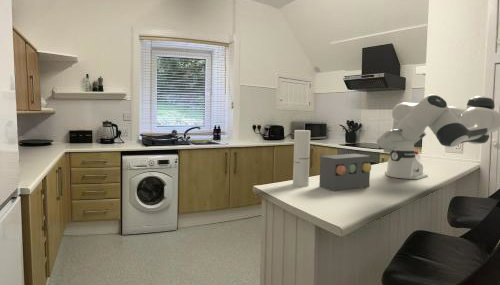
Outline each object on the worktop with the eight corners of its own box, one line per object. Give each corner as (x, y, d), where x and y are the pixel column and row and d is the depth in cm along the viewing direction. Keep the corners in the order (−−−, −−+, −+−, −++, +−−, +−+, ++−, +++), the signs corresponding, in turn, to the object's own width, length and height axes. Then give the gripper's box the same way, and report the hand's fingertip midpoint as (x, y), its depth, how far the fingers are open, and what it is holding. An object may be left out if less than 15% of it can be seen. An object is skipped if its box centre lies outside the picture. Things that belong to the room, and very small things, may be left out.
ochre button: (365, 170, 156) (365, 162, 155) (371, 171, 153) (371, 163, 152) (359, 171, 154) (359, 162, 153) (364, 172, 151) (365, 163, 150)
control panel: (354, 182, 163) (355, 153, 162) (369, 186, 155) (370, 155, 154) (319, 187, 152) (320, 156, 151) (333, 191, 144) (335, 158, 143)
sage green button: (350, 171, 153) (350, 162, 153) (355, 172, 150) (356, 163, 150) (343, 172, 151) (344, 163, 151) (349, 173, 148) (349, 164, 148)
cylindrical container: (308, 187, 151) (310, 131, 149) (292, 186, 153) (293, 130, 150) (308, 183, 158) (310, 130, 156) (293, 182, 160) (295, 129, 157)
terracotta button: (340, 173, 147) (340, 164, 147) (345, 174, 145) (345, 165, 144) (333, 174, 145) (333, 165, 145) (338, 175, 143) (339, 166, 142)
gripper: (396, 136, 126) (373, 158, 136) (428, 134, 137) (405, 155, 146) (386, 123, 130) (365, 146, 139) (419, 123, 140) (397, 144, 150)
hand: (386, 151), depth 143 cm, fingers closed
